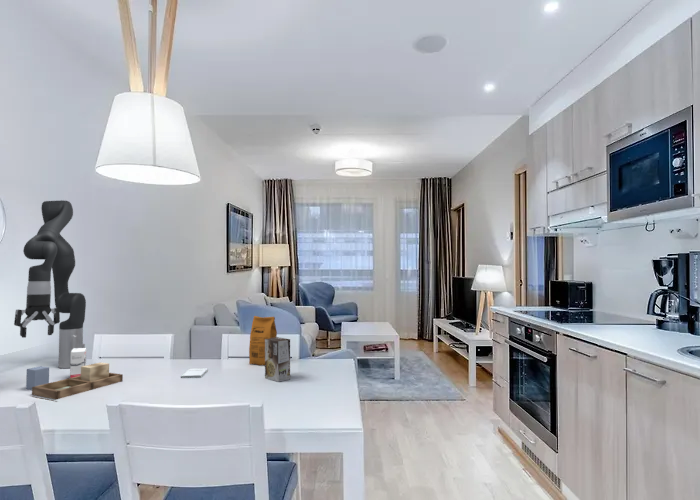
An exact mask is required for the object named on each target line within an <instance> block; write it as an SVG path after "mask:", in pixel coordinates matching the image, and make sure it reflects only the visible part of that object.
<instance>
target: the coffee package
mask: <svg viewBox="0 0 700 500" xmlns="http://www.w3.org/2000/svg"><path fill="white" fill-rule="evenodd" d="M252 318H253V320H252V323H251V330H250V334H249V335H250V336H249V347H248V355H249V356H248V357H249V361H248V362H249V363H248V365H258V366H265V339H269V338H274V337H278V336H277V335H278V332H277V326H276V321H275V320H276V317H275V316H264V317H261V316H257V315H254V316H253V317H252Z"/></svg>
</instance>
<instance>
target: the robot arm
mask: <svg viewBox="0 0 700 500" xmlns="http://www.w3.org/2000/svg"><path fill="white" fill-rule="evenodd" d="M40 209H41V215H42V220H43V225H41V226H40V227H39V228H38V231H37V233H36V235H34V236H33V237H31V238H30V239H29V240H28V241H27V242H26V243H25V244H24V247H23V250H22V251H23V254H24V257H26V259H29V260H44V262H43V263H41V264H38V265H32V266H30V267H29V269H28V278H27V279H28V282H27V286H26V304H25V305H26V307H25V309H20V308H19V309H15V314H14V321H13V322H14V323H13V325H14V326H16V327H19V336H20V337H21V338H23V339H24V338H26V337H27V326H28V325H29V323H31V322H32V321H45V322H46V323H47V336H52V335H53V334H54V332H55V325H57V324H58V329H59V330H58V334H59V335H58V367H57V368H59V369H70V356H71V351H72V349H73V348H86V344H85V343H83V342H84V341H83V340H84V335H83V334H84V323H85V321H86V308H87V307H86V306H87V301H86V296H85V295H84V294H83V293H82V292H81V293H80V292H70V291H69V280H70V277H71V276H72V274H73V272H74V269H75V267H76V259H75V251H74V248H73V246H72V245H71V244H70V243H69V242H68V241H67V240H66V239H65V238H64V237H63V235H61V232H62V231H63V230H64V228H65V227H67V225H68V224H69V223H70V222H71V220H72V219H73V216H74V209H73V205H72V203H71V202H70V200H69V201H68V200H64V199H63V200H62V199H61V200H44V201H43V202H42V203H41V207H40ZM51 278H53V288H54V289H53V291H54V293H53V294H54V306H55V307H53V308H51V296H52V295H51V294H52V286H51ZM50 313H52V315H53V319H52V318H51V316H50ZM24 314H25V315H26V317H25V318H24V319H23V321H22V316H23V315H24ZM60 314H69V317H68V318H67V319H65V320H63V321H61V317H60ZM60 321H61V322H60Z"/></svg>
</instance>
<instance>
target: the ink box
mask: <svg viewBox="0 0 700 500" xmlns="http://www.w3.org/2000/svg"><path fill="white" fill-rule="evenodd" d="M86 365H87V347H85V348H73V349H72V351H71V356H70V368H69V369H70V370H69V371H70V373H69V374H70V375H69V378H72V377H77V376H81V367H82V366H86Z"/></svg>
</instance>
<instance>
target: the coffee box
mask: <svg viewBox="0 0 700 500" xmlns="http://www.w3.org/2000/svg"><path fill="white" fill-rule="evenodd" d="M264 378H265V379H267V380H270V381H275V382H277V383H279V382H283V381H287V380H290V379H291V339H289V338H285V337H278V336H277V337H274V338H269V339H265V365H264Z"/></svg>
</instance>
